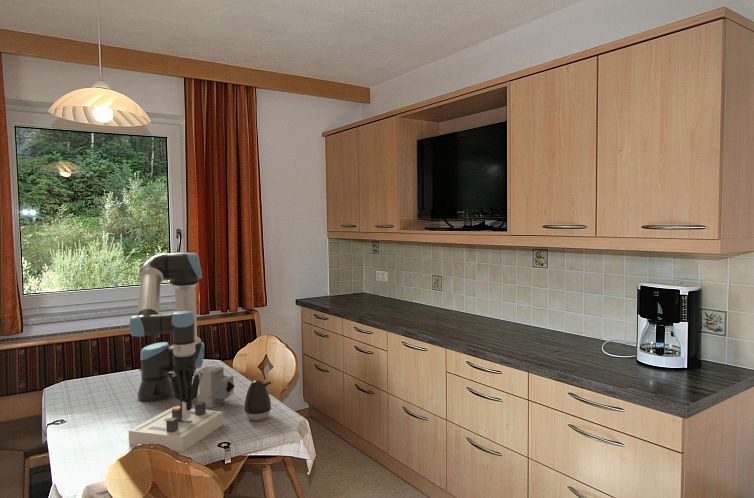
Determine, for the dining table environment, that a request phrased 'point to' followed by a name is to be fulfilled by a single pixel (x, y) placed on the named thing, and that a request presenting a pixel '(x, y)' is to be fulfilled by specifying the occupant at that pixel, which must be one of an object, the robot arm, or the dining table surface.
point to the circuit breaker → (214, 386)
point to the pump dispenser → (257, 401)
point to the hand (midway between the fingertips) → (186, 418)
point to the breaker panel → (173, 436)
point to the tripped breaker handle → (177, 412)
